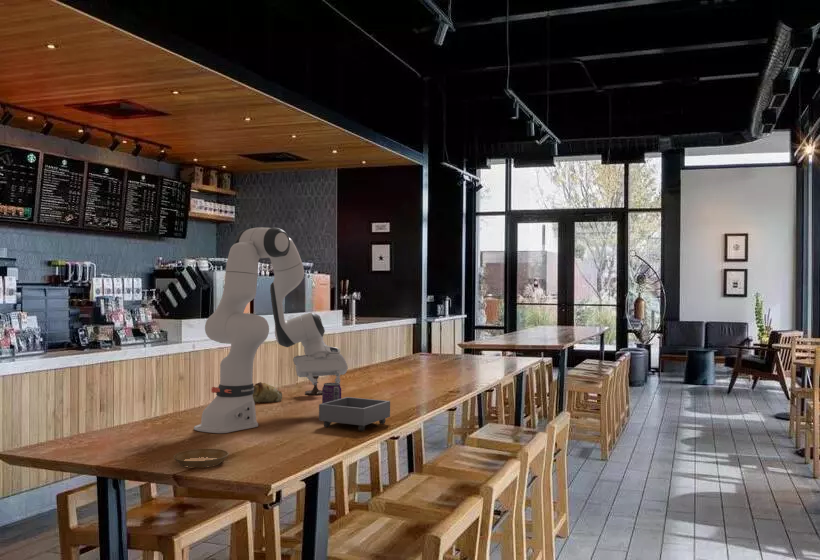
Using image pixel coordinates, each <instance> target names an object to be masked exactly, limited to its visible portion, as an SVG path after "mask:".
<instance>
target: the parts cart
mask: <svg viewBox="0 0 820 560" xmlns="http://www.w3.org/2000/svg"><path fill="white" fill-rule="evenodd" d="M388 418H391V400H383V399H372V398H361V397H354V396H353V397H351V396H345V397H341V399H337V400H334V401H330V402H326V403H322V402H321V403H319V404H318V421H321V422H323V427H324V428H330V426H331V423H336V424H337V423H338V424H343V425H345V424H347V425H354V426H358V429H357V430H358V432H364V431H365V430H366V426H367V425H370V424H373V423H376V422H379V424H380V425H385V424H386V419H388Z"/></svg>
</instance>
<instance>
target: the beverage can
mask: <svg viewBox="0 0 820 560" xmlns="http://www.w3.org/2000/svg"><path fill="white" fill-rule="evenodd" d="M321 390H322V395H321V398H322V399H321V400H322V402H321V404H322V403H326V402H330V401H334V400H337V399H341V398H342V386H341V382H340V383H335V382H324V383H323V387H322V389H321Z"/></svg>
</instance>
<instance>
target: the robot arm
mask: <svg viewBox="0 0 820 560" xmlns="http://www.w3.org/2000/svg"><path fill="white" fill-rule="evenodd" d="M260 259H269V260H270V263H271V266H272V269H273V274H274V278H273V282H272V283H270V289H269V291H270V302H271V307H272V309H271V310H272V315H273V319H274V320H273V321H274V337H275V340H276V341H277V343H278V344H279V345H280V346H282V347H285V348H289V347H291V346H294V345H296V344H298V343H300V344H301V345H302V347H303V351H304V354H302V355H299V354H298V355H296V356H294V357H293V359H292V362H293V364H294V365H295V371H296V376H298V378H307V380H308V381H310V382H311V385H312V386H314V385H317V386H318V383H317V382H318V379H314V378H313V377H312V376H319V377H323V376H324V377H325V376H335V379H334V383H340V384H341V378H340V377H341V375H345V374H346V373H347V371H348V369H349V367H348V366H349V365H348V363H347V361H346V358H345V357H344V355H342V354H341V349H340V348H338V347H334V346H330V345H327V344H326V342H325V341H324V334H325V331H326V330H325V328H324V325H323V323H322V317H321V316H320V315H319V314H317V313H315V312H312V311H311V312H308V313H304V314H301V315H298V316H295V317H293V318H290V319H285V313H284V307H283V306H284V305H283V302H284V299H285V298H286V296H287V295H288V294H289V293H291V292H292V291H293V290H295V289H296V288H297V287H298V286H299V285H300V284H301V283H302V282H303V279H304V276H305V269H304V264H303V260H302V259H301V256H300V253H299V251H298V248H297V246H296V245H295V242H294V241H293V239H292V238H291V237H289V235H288V233H287V232H286V231H285V230H284V229H281V228H279V227H264V226H263V227H262V226H258V227H254V228H245V229H242V230H241V231H239V232H238V233H237V235H236V236H235V240H234V243H233V245H232V246H231V247H230V249H229V252H228V256H227V261H226V265H225V273H224V274H225V275H224V283H223V292H222V296H221V299H220V302H219V304H218V305H217V307H216V309H215V311H214V312H213V313H212V314H210V316H209V317H208V318H207V319H206V321H205V325H204V332H205V334H206V336H207V338H208V339H210V340H212V341H214V342H217V343H219V344H228V345H229V344H230V348H229V352H228V353H227V355H226V356H225V357H223V359H222V360H221V361H220V365H219V366H220V367H219V368H220V369H219V374H220V375H219V385H218V386H217V387H216V386H212V387H211V390H210V392H211V393H212V394H214V393H215V395H216V396H215V397H214V398H213V400H211V402H210V403H209V404H208V405H207V406H206V407H205V408H204V409H203V410H202V413H201V420H200V421H201V422H200V423H199V424H197V425H194V426H193V430H194V431H198V432H203V433H210V434H212V433H213V434H227V433H231V432H232V433H233V432H237V431H242V430H248V429H252V428H253V429H254V428H257V427H259V422H258V421H257V414H256V413H257V412H256V402H254V400H253V393H254V386H255V384H254V383H253V375H254V374H253V372H254V371H253V370H254V361H255V357H256V354H257V352H258V349H259V348H260V346H261V345H262V344H263V343H264V342H265V341H266V340H267V338H268V336H269V334H270V328H269V327H270V326H269V322H268V321H267V319H266V318H265V317H263V316H261V315H258V314H255V313H248V312H247V313H246V312H245V309H246V307H247V306H248V304H249V303H250V302H251V301H253V300H254V299H255V297H256V294H257V287H258V286H257V284H258V275H259V274H258V273H259V261H260Z"/></svg>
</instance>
